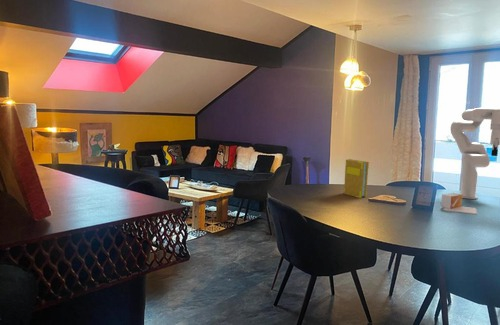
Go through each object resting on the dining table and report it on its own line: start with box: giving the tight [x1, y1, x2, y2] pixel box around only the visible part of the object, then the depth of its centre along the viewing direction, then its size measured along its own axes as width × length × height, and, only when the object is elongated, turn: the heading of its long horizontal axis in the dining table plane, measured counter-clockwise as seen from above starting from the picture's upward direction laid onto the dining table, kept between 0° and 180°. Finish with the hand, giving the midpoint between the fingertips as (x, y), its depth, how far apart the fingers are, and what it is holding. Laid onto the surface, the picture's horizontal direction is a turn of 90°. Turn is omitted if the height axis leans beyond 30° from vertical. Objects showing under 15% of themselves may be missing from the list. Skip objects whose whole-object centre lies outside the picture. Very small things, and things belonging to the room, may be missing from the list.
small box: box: [440, 192, 463, 209], centre depth 244 cm, size 8×6×13 cm
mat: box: [443, 205, 478, 215], centre depth 240 cm, size 16×18×1 cm
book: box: [343, 158, 370, 199], centre depth 274 cm, size 17×7×25 cm, turn 34°
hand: (494, 155), depth 250 cm, fingers closed
